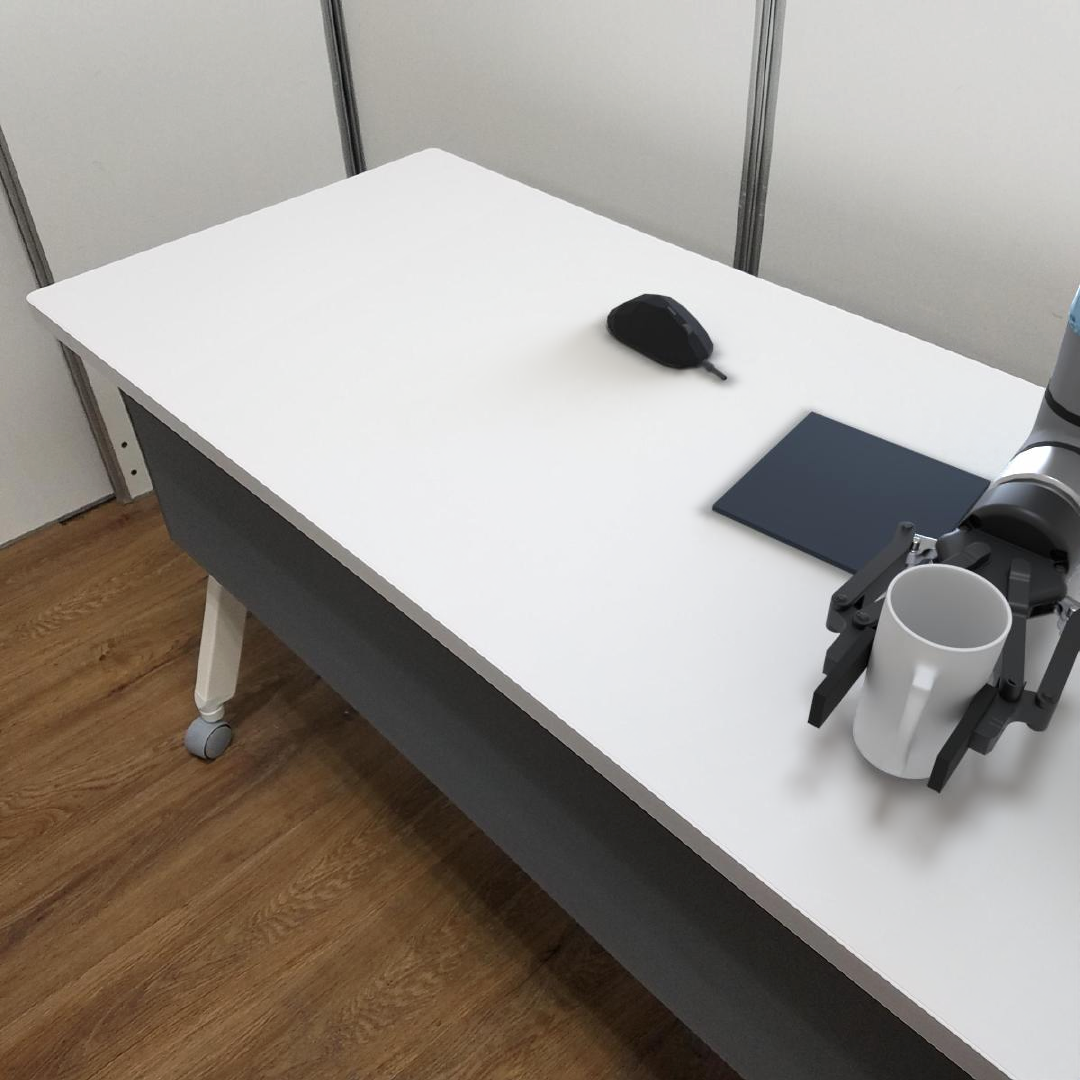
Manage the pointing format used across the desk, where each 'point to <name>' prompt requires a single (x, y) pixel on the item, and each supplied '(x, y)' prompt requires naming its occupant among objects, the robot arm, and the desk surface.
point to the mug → (927, 665)
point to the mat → (848, 493)
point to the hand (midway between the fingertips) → (876, 741)
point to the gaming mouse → (662, 331)
